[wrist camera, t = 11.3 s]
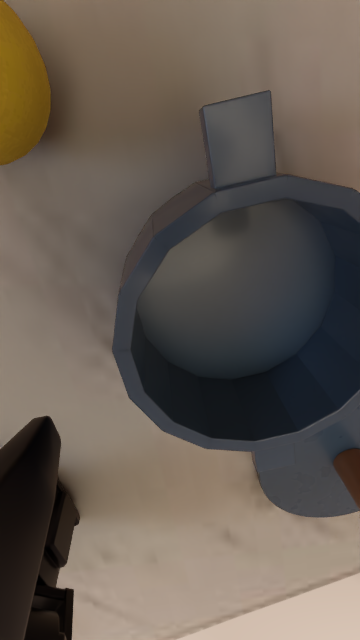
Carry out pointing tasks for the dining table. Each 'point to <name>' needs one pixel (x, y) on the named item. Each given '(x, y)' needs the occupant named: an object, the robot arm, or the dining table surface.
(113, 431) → the dining table surface
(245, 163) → the pot
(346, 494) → the pot lid
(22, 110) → the lemon
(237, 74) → the dining table surface
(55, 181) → the dining table surface
